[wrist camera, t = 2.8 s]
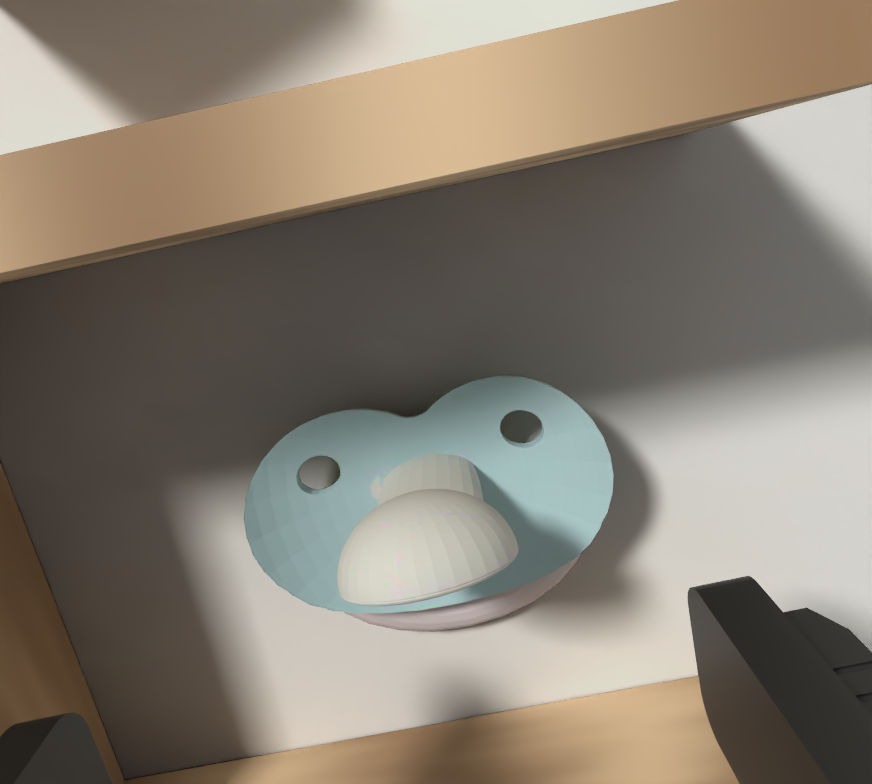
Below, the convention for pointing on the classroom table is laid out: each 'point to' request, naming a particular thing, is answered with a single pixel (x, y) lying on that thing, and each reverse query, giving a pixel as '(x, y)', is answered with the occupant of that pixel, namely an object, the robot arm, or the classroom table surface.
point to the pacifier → (433, 507)
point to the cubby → (377, 180)
